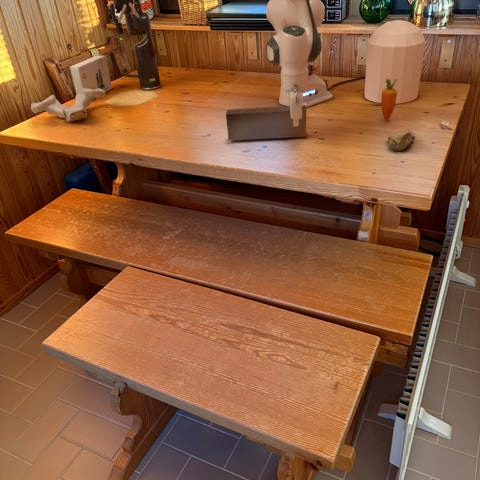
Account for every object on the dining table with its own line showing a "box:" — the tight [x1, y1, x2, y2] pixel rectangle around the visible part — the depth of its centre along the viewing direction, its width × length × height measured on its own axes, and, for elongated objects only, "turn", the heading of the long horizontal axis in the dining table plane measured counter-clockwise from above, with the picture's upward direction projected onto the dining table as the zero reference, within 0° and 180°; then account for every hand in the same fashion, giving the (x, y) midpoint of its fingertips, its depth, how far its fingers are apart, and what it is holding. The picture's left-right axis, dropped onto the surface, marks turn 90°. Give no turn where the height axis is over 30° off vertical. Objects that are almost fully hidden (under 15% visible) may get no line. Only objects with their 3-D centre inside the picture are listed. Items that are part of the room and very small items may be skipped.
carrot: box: [380, 79, 397, 122], centre depth 161 cm, size 5×5×15 cm
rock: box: [387, 129, 416, 152], centre depth 146 cm, size 11×6×10 cm
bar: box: [225, 105, 307, 141], centre depth 159 cm, size 27×5×9 cm, turn 87°
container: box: [363, 19, 426, 105], centre depth 179 cm, size 21×21×28 cm
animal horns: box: [30, 88, 107, 123], centre depth 195 cm, size 28×26×12 cm
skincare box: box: [69, 54, 113, 95], centre depth 218 cm, size 21×6×16 cm, turn 158°
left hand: (129, 31), depth 173 cm, fingers open, 8 cm apart
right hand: (295, 122), depth 158 cm, fingers closed on bar, 5 cm apart
